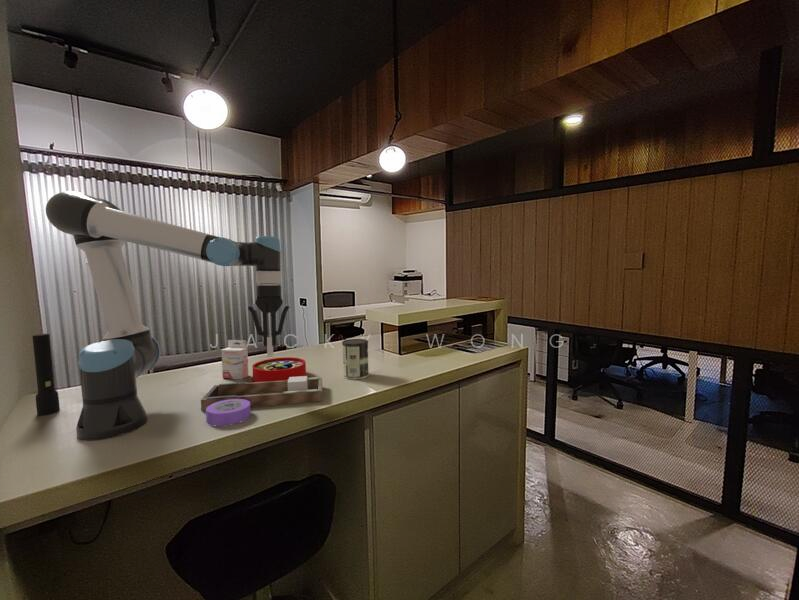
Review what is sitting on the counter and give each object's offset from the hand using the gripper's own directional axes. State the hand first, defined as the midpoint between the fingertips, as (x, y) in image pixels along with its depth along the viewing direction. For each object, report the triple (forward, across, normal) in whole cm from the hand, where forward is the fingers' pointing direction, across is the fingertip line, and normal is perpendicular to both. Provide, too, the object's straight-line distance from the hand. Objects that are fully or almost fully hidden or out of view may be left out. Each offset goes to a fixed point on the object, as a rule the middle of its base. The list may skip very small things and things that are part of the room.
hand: (270, 355), depth 121 cm
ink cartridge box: (+15, +17, -28) cm, 36 cm away
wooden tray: (+14, +1, 0) cm, 14 cm away
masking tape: (+15, +10, +14) cm, 23 cm away
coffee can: (+14, -30, -18) cm, 38 cm away
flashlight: (+16, +65, -2) cm, 67 cm away
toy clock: (+15, 0, -23) cm, 28 cm away
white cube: (+15, -9, 0) cm, 17 cm away
